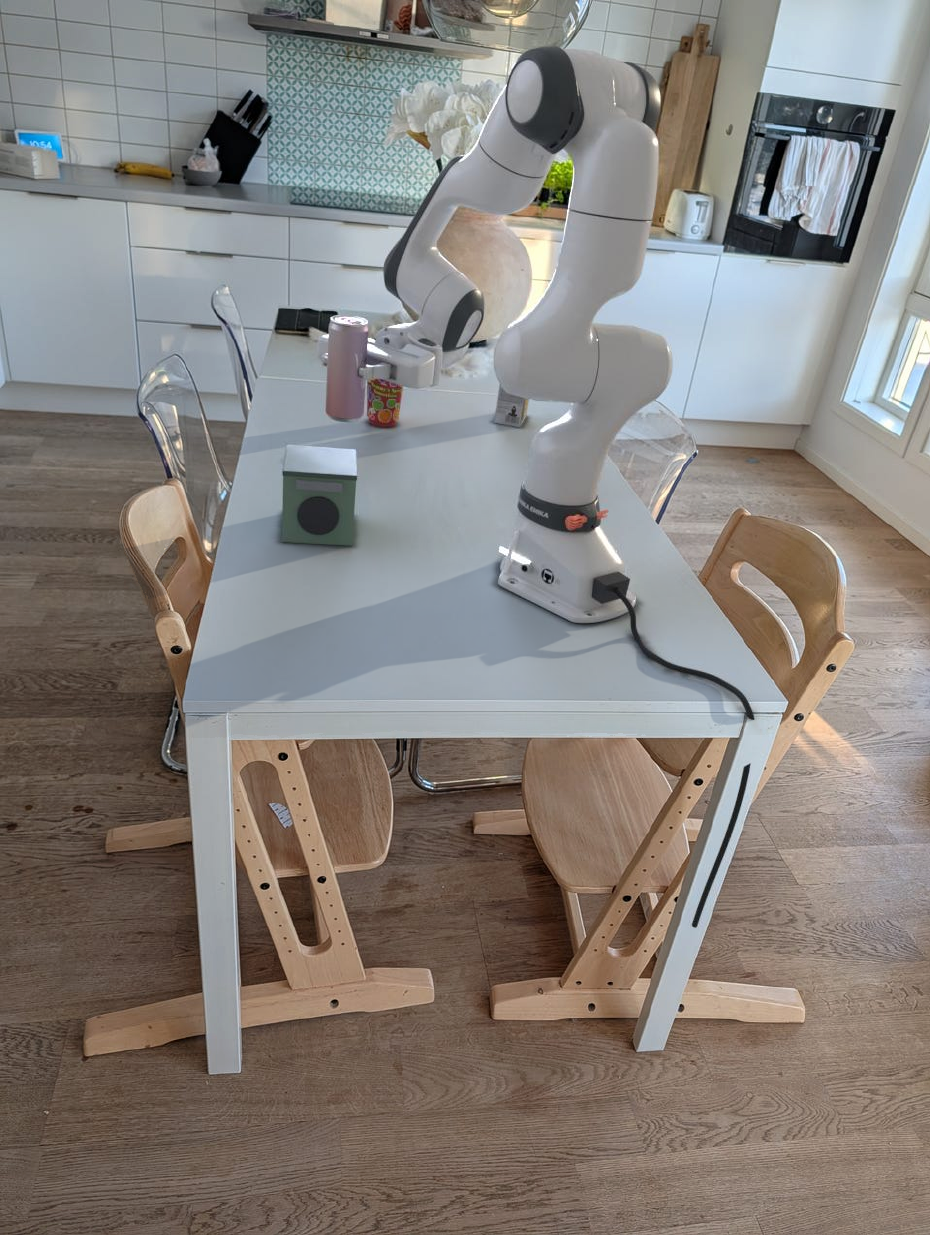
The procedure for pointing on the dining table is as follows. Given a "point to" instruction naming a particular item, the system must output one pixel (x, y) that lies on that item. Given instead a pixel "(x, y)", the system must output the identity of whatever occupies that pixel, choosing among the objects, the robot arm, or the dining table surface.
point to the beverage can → (346, 367)
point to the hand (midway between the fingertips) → (343, 367)
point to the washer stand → (318, 495)
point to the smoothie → (383, 402)
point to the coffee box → (510, 409)
